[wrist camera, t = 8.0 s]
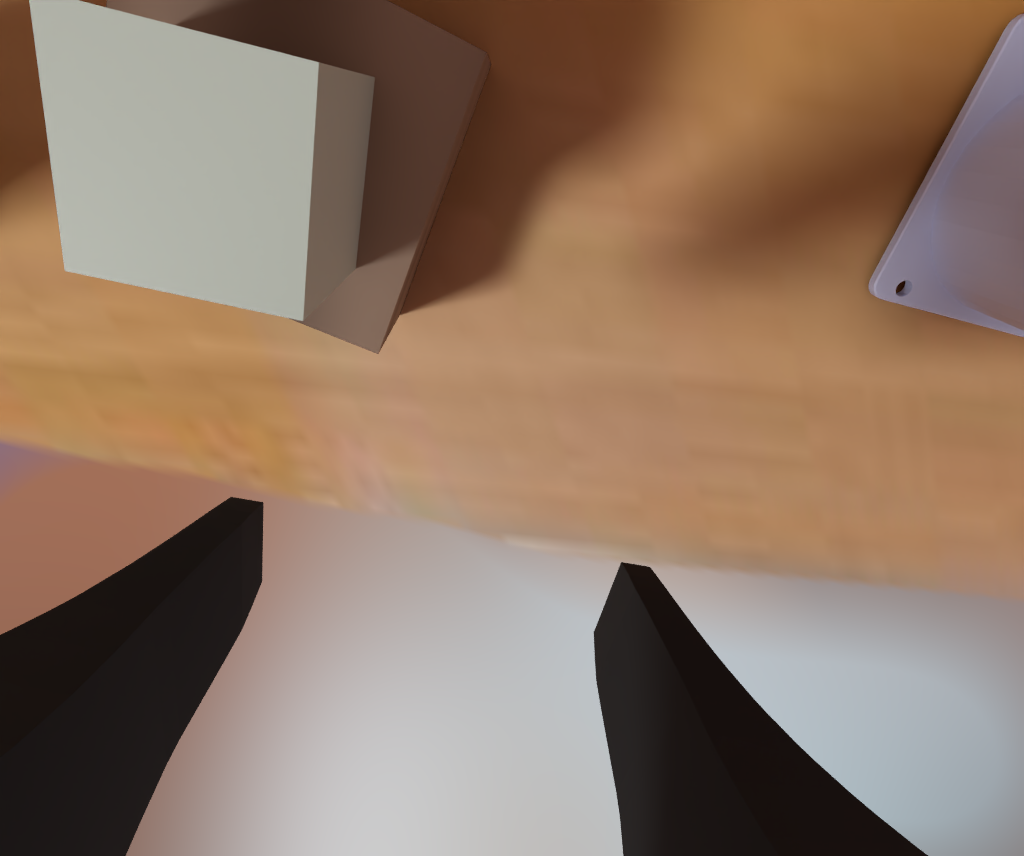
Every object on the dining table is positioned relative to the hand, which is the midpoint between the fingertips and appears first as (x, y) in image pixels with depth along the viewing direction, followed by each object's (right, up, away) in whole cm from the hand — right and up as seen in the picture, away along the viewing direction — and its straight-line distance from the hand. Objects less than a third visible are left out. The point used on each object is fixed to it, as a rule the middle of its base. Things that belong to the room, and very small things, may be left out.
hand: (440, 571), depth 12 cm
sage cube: (-4, +10, +3) cm, 11 cm away
